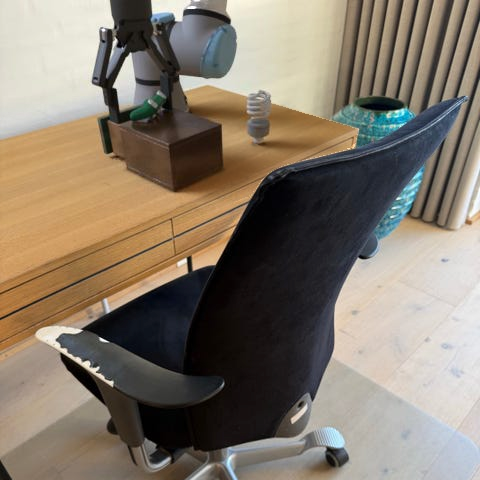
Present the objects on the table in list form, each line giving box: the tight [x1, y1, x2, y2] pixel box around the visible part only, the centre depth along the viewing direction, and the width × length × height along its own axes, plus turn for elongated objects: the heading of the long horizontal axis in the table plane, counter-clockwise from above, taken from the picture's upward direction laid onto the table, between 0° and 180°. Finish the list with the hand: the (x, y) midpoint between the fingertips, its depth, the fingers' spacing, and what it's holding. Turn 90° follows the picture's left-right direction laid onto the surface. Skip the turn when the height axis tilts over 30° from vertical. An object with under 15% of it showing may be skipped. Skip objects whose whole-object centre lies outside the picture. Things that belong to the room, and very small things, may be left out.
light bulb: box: [246, 89, 272, 145], centre depth 110 cm, size 6×6×12 cm
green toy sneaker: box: [130, 90, 167, 121], centre depth 100 cm, size 9×4×6 cm
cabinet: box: [119, 108, 224, 193], centre depth 101 cm, size 16×14×10 cm
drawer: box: [96, 104, 143, 160], centre depth 107 cm, size 20×13×8 cm
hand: (142, 115), depth 100 cm, fingers open, 13 cm apart
